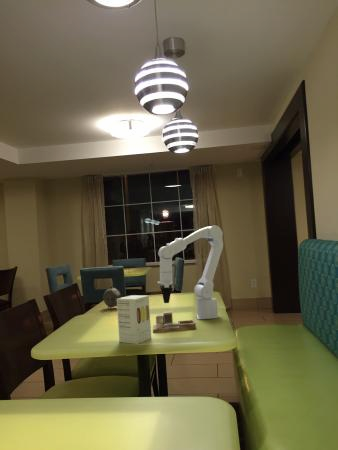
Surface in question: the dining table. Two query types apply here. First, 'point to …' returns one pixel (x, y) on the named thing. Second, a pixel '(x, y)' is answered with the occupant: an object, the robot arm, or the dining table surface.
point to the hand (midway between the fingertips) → (166, 301)
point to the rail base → (172, 325)
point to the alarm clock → (111, 296)
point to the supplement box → (134, 319)
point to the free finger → (168, 317)
